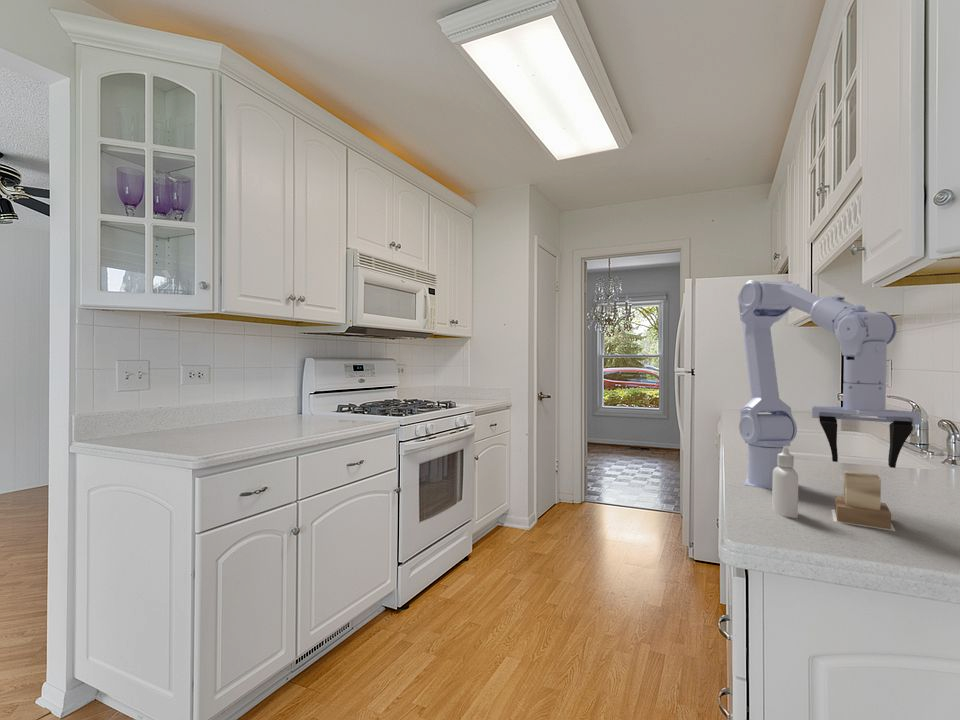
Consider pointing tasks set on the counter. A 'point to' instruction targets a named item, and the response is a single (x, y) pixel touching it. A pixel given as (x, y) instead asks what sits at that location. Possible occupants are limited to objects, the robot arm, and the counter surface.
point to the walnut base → (863, 514)
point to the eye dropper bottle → (785, 486)
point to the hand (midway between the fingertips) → (862, 463)
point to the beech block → (862, 490)
